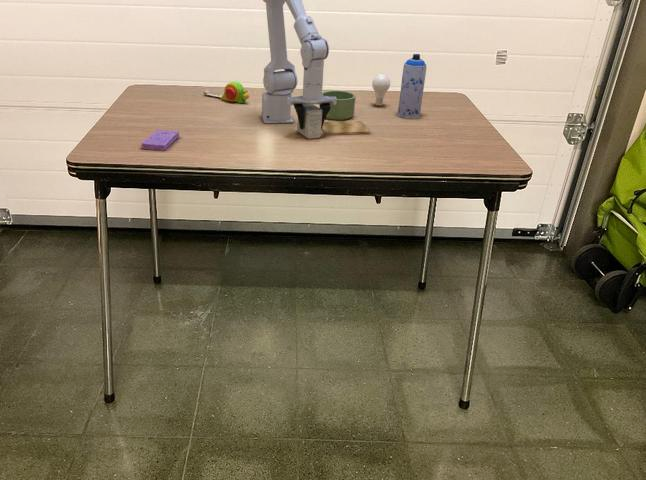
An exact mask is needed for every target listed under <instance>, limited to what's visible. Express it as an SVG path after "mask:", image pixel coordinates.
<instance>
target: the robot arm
mask: <svg viewBox="0 0 646 480" xmlns="http://www.w3.org/2000/svg"><path fill="white" fill-rule="evenodd" d="M262 2H264V4H265V9H266V10H265V12H266V20H267V33H268V43H269V54H270V61H269V62H268V63H267V65H266V66H265V67H264V68H263V78H262V83H263V87H264V89H265V91H266V92H262V94H261V119H262V120H263V123H264V124H292V123H294V120H293V118H292V115H291V114H292V106H293V107H294V110H295V112H296V116H297V121H298V120H299V127H300V129H303V114H304V108H303V105H308V104H313V105H319V106H318V108H320V109H322V124H321V130H322V127H323V123H324V122H326V119H327V118H326V116H327V114H328V112H329V111H330V108H331V106H330V104H333V105H336V101H337V98H336V97H330V96H322V93H323V86H324V85H323V84H324V69H325V68H324V67H325V60H326V59H327V58H328V57H329V53H330V46H329V42H328V40H327V39H326V38H324V37H323V36H322V35H320V34H319V31H318V29H317V27H316V25H315V22H314V19H313V17H312V16H310V15H307V13H306V10H305V9H306V8H305V7H304V3H303V0H262ZM285 3H286V5H287V7H288V9H289V11H290V13H291V15H292V17H293V19H294V23H293V28H294V31H295V33H296V36H297V38H298V41H299V43H300V45H301V47H300V49H299V52H300V53H299V54H300V57H301V65H302V67H303V77H302V78H303V81H302V95H298V96H292V93H294V91H295V90H296V88H297V86H298V81H299V80H298V75H297V72H296V67H295V66H296V65H294V64H293V63H292V62H291V61H290V60H288V50H287V38H286V28H285V27H286V26H285V15H284V5H285Z"/></svg>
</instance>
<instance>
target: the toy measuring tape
mask: <svg viewBox="0 0 646 480" xmlns="http://www.w3.org/2000/svg"><path fill="white" fill-rule="evenodd" d="M203 96H211V97H217V98H220V99H221V100H223V101H227V102H231V103H239V104H243V103H246V102H247V100H248V99H250V94H249V93H248V90H245V88H244V86H243V84H242V83H240V82H239V81H237V80H235V81H230V82H229V83H227V84H226V85H225V87H224V92H223V94H222V95H219V94H218V95H217V94H212V93H211V92H210V91H209V90H208V89H207V90H204V91H203Z"/></svg>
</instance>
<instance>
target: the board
mask: <svg viewBox="0 0 646 480" xmlns="http://www.w3.org/2000/svg"><path fill="white" fill-rule="evenodd" d="M321 131H322V132H323V133H324V134H325V136H337V135H338V136H339V135H341V136H342V135H343V136H344V135H370V133H371V131H370V130H369V129H368V127H366V125H365V124H364V123H363V122H362V121H361V120H333V121H324V123H323V127H322V129H321Z"/></svg>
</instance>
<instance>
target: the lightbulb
mask: <svg viewBox="0 0 646 480" xmlns="http://www.w3.org/2000/svg"><path fill="white" fill-rule="evenodd" d="M371 85H372V86H371V87H372V89H373V91H374V95H375V103H374V104H375V105H376V106H377V107H381V106H383V105H384V98H385V96H386V94H387V92H388V90H389V89H390V88H391V79H390V77H389V76H388V75H386V74H384V73H379V74H377V75H375V76H374V77H373V79H372V82H371Z"/></svg>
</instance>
